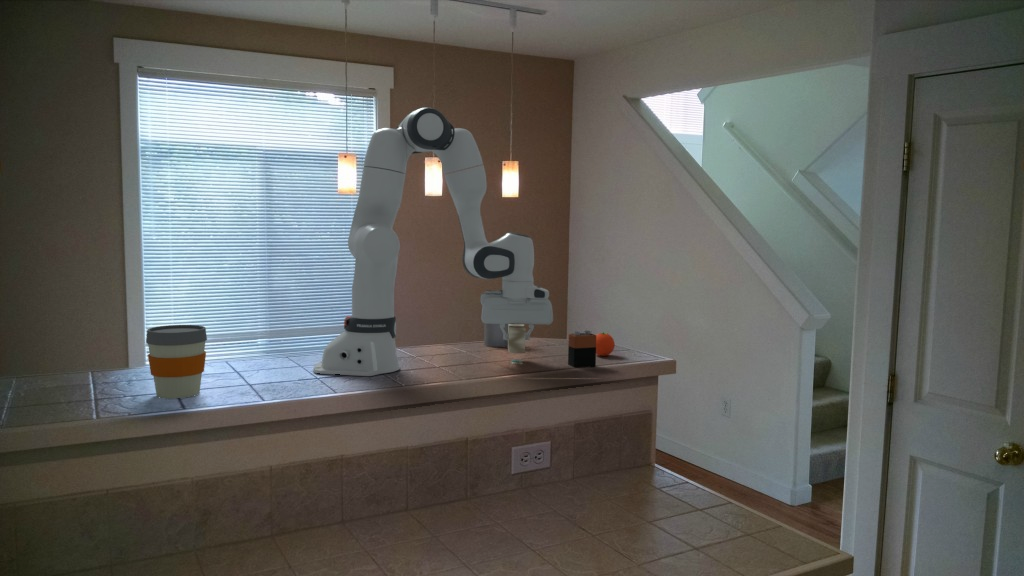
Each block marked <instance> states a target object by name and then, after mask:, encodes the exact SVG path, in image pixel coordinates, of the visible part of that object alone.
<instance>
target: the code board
mask: <svg viewBox="0 0 1024 576" xmlns="http://www.w3.org/2000/svg"><path fill="white" fill-rule="evenodd" d="M510 362H511V365H523V361H522V359H510Z"/></svg>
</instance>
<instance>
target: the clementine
mask: <svg viewBox="0 0 1024 576" xmlns="http://www.w3.org/2000/svg"><path fill="white" fill-rule="evenodd" d="M595 335H596V355H598V356H600V355H601V356H600V357H606V356H609V355H610V354H612V353H613V352H614V349H615V345H616V344H615V340H614V338H613V337H612V336H611V335H610V334H609V333H608V332H604V331H603V332H600V333H597V334H595Z"/></svg>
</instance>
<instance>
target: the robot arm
mask: <svg viewBox="0 0 1024 576" xmlns="http://www.w3.org/2000/svg"><path fill="white" fill-rule="evenodd" d="M427 152H432V153H434V154H435V155H436V157H437V158H438V159H439V162H440V163H441V168H442V172H443V176H444V179H445V182H446V186H447V188H448V192H449V194H450V196H451V199H452V201H453V205H454V207H455V208H456V209H455V210H456V213H457V215H458V216H457V217H458V221H459V226H460V231H461V235H462V238H463V252H462V257H461V258H462V260H461V261H462V265H463V268H464V270H465V272H466V273H467V274H468V275H469V276H471V277H473V278H476V279H484V280H494V279H499V278H501V280H502V281H501V285H502V286H501V290H489V289H487V290H485V291H484V292H482V293H481V294H480V298H479V299H480V304H481V306H482V308H481V319H480V320H481V322H482V323H483V324H485V323H490V324H500V328H501V330H502V332H503V339H504V340H509V337H508V336H509V333H506V332H505V330H504V328H505V324H524V325H528V328H529V329H528V330H527V332H526V336H525V341H530V340H531V334H532V332H533V330H534V329H535V325H551V324H553V321H554V313H553V305H552V302H551V300H550V299H549V297H550V291H549V290H548V289H547V288H544V287H541V286H538V285H535V284H534V275H533V274H534V273H533V272H534V271H533V270H534V266H535V248H534V243H533V239H532V238H531V237H530V236H528V235H525V234H522V233H518V232H517V233H516V232H512V231H511V232H506V233H505V234H504V235H503V236H501V237H500V238H498V239H496V240H494V241H491V242H488V240H487V238H486V234H485V228H484V224H483V219H482V214H481V205H482V201H483V198H484V196H485V195H486V192H487V188H488V185H487V174H486V170H485V165H484V162H483V158H482V155H481V152H480V150H479V147H478V144H477V142H476V140H475V137H474V136H473V134H472V133H471V131H469V130H468V129H465V128H462V127H461V128H460V127H457V128H456V127H454V126H453V124H451V122H450V121H449V120H448V119H447V118H446V116H445V115H444V114H443V113H441V111H440V110H438V109H436V108H434V107H427V106H426V107H424V106H423V107H421V108H418V109H415V110H413V111H410V113H408V114H407V115H406V116H405V117H404V118H403V119H402V120H401V121H400V123H399V124H398V125H397V127H396V128H389V127H383V128H379V129H377V130H375V131H374V132H373V134H371V137H370V140H369V143H368V146H367V150H366V154H365V158H364V161H363V162H364V163H363V167H362V174H361V181H360V187H359V195H358V198H357V203H356V206H355V209H354V214H353V216H352V220H351V221H352V222H351V225H350V226H351V227H350V231H349V235H348V239H347V246H348V249H349V252H350V254H351V255H352V257H353V258H354V259H355V261H354V262H355V263H354V273H353V282H352V286H351V315H348V316H346V317H345V318H344V321H343V329H344V331H343V332H341V333H340V334H339V335H337V336H336V337H335V338H334V339H332V340H331V341H330V342H329V343H328V344H326V346H325V347H324V349H323V352H322V358H321V361H319V362H317V363H316V364H315V365H314V366H313V370H312V371H313V373H315V374H317V373H320V374H321V375H335V374H340V376H358V377H359V376H361V377H372V376H377V375H381V374H388V373H393V372H396V371H399V370H400V369H401V366H400V363H399V359H398V354H397V346H396V335H397V321H396V320H397V319H396V316H395V286H396V285H395V283H396V278H397V277H396V276H397V271H398V265H399V264H398V263H399V262H398V261H399V253H400V250H401V243H400V239H399V236H398V234H397V233H396V231H395V230H394V224H395V221H396V218H397V214H398V212H399V209H400V207H401V204H402V201H403V200H402V199H403V192H404V186H405V181H406V175H407V174H406V173H407V167H408V166H407V164H408V161H409V159H410V156H411V155H412V154H421V153H427Z"/></svg>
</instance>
